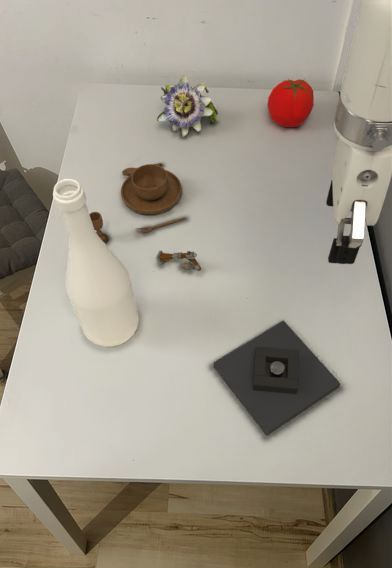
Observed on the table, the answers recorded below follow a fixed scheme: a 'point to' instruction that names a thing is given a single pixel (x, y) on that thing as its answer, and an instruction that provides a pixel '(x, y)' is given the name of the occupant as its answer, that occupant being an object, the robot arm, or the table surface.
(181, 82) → the passion flower
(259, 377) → the black block
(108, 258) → the wine bottle
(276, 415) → the base pad
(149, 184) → the place setting
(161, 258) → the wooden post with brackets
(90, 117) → the table surface
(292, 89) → the tomato
